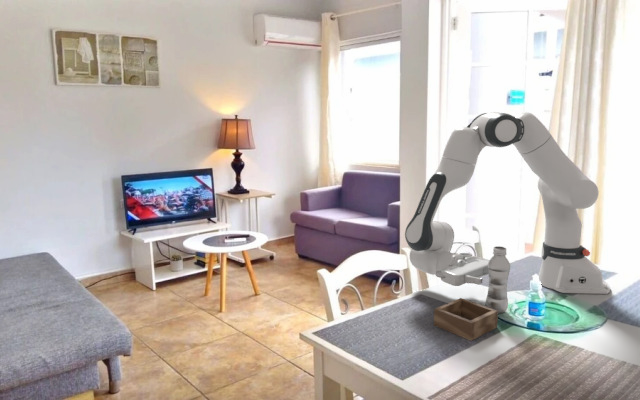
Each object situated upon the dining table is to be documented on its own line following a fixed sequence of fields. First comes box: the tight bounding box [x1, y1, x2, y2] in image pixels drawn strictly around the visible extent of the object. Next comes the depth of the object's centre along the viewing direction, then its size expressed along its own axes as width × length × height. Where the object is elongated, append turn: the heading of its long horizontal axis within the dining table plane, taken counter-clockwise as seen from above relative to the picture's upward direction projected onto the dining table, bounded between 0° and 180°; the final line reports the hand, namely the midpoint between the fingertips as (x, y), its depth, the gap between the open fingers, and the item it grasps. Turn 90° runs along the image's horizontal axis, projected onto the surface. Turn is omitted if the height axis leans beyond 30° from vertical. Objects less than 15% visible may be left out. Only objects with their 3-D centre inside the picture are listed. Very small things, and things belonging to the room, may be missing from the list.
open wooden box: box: [433, 297, 499, 342], centre depth 141 cm, size 12×12×5 cm
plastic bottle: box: [485, 245, 511, 314], centre depth 150 cm, size 6×7×20 cm
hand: (490, 277), depth 152 cm, fingers open, 8 cm apart
